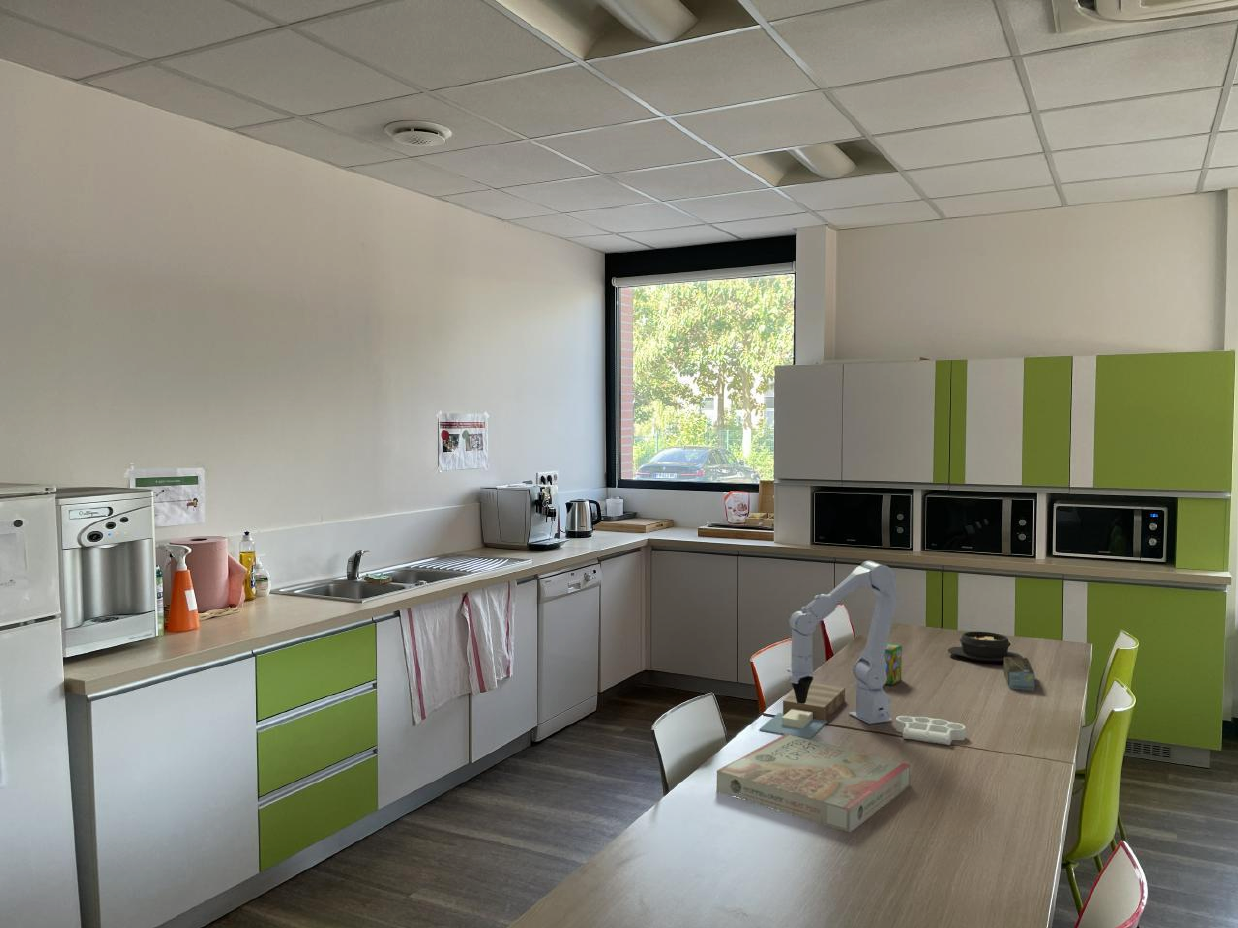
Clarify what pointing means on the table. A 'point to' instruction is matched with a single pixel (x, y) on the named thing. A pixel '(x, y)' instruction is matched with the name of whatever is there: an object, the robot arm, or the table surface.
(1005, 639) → the casserole
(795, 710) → the tile
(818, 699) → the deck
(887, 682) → the chalk box
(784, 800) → the pizza box
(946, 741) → the knuckle duster
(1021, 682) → the beverage carton
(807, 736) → the mat
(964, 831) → the table surface
